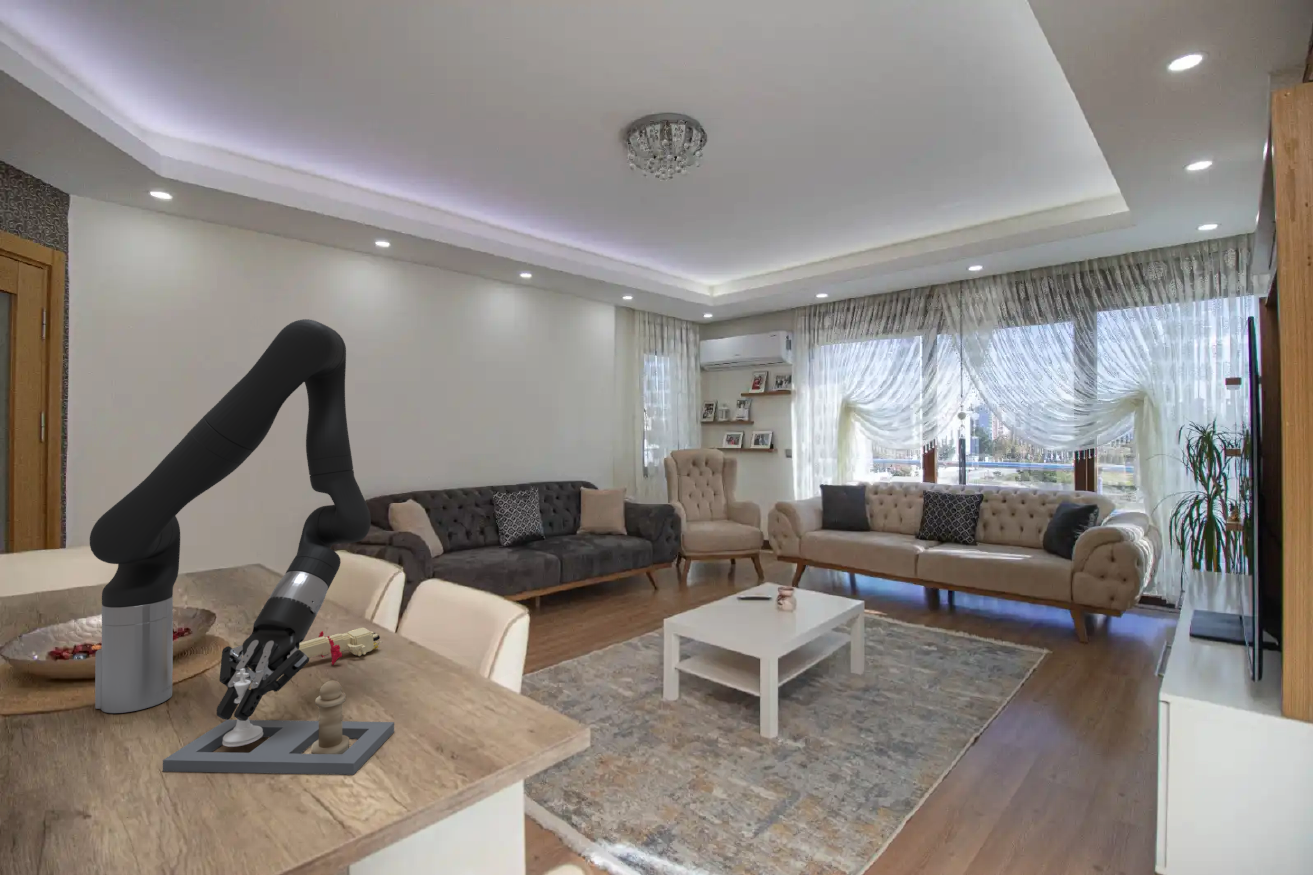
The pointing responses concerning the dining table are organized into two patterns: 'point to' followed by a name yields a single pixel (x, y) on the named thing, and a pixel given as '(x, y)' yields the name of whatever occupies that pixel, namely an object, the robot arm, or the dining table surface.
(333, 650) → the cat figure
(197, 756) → the grey chess piece holder
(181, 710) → the dining table surface
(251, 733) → the chess piece
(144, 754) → the dining table surface
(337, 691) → the pawn
